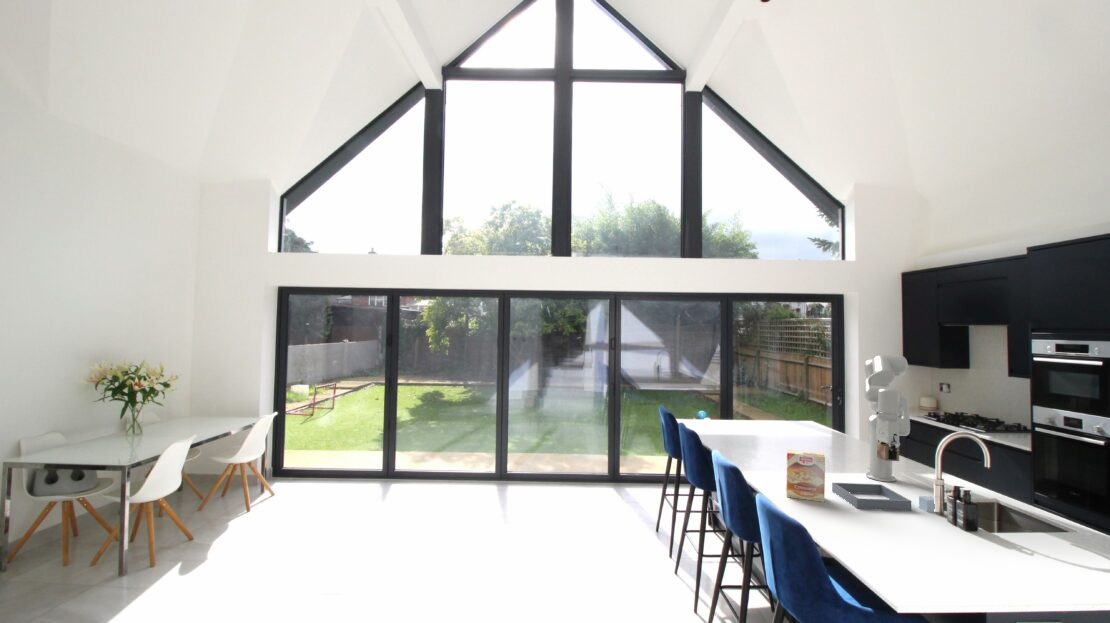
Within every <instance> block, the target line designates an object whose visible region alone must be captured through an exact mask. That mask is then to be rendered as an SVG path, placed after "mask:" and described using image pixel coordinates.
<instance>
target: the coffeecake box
mask: <svg viewBox="0 0 1110 623" xmlns="http://www.w3.org/2000/svg"><path fill="white" fill-rule="evenodd" d="M785 467H786V472H785V475H786V476H785V477H786V478H785V479H786V480H785V495H786V498H790V497H791V498H792V499H797V498H798V500H805V499H806V500H807V501H812V500H813V502H819V501H821V503H824V502H825V485H826V484H825V483H826V479H825V478H826V476H825V475H826V456H825V454H824V453H822V452H812V451H803V450H793V449H786V466H785ZM806 500H805V501H806Z"/></svg>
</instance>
